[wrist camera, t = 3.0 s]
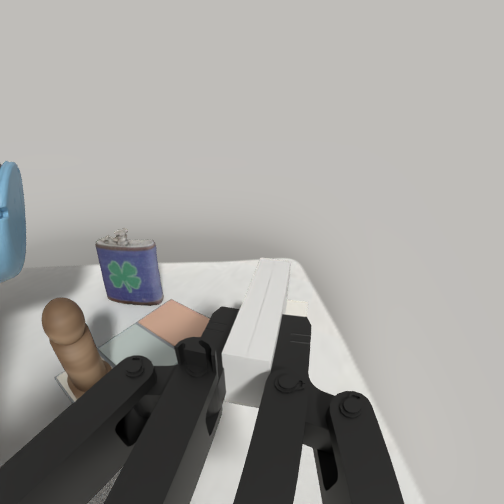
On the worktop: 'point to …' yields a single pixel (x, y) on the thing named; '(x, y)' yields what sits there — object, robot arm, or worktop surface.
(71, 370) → the pawn
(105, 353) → the board
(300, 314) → the white die
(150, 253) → the flask
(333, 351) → the worktop surface
